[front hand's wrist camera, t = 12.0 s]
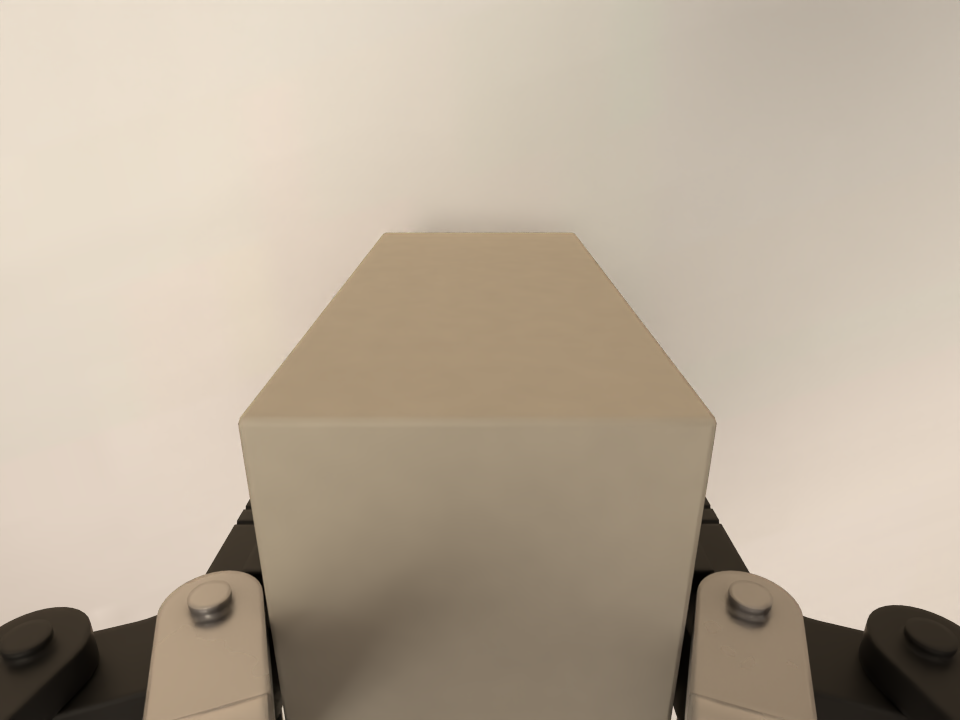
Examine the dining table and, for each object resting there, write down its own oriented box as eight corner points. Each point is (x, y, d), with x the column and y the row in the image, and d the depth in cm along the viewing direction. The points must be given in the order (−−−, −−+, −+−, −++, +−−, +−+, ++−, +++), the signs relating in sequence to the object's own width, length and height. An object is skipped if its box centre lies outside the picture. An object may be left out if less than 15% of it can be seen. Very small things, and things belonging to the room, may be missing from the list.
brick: (397, 490, 19) (310, 892, 9) (382, 232, 16) (233, 419, 6) (561, 489, 19) (647, 892, 9) (575, 232, 16) (720, 418, 6)
